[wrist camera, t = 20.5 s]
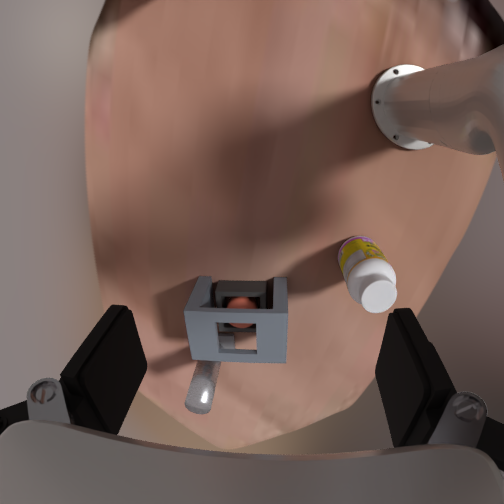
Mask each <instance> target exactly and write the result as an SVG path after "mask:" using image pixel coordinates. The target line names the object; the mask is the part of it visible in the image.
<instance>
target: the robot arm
mask: <svg viewBox="0 0 504 504" xmlns="http://www.w3.org/2000/svg"><path fill="white" fill-rule="evenodd" d="M393 71H395V74H394V73H393ZM375 101H378V104H376V103H375ZM371 107H372V113H373V116H374V119H375V122H376V124H377V126H378V127H379V129H380V130H381V132H382V133H383V134H384V135H385V136H386V137H387V138H388V139H389V140H390V141H392V142H393V143H395V144H396V145H399V146H401V147H403V148H407V149H413V150H419V149H425V148H428V147H431V146H432V145H434V144H436V145H440V146H443V147H447V148H451V149H454V150H458V151H462V152H465V153H469V154H474V155H485V154H489V153H492V152H494V151H496V154H497V157H498V161H499V166H500V168H501V171H502V176H503V181H504V45H501V46H499V47H497V48H495V49H493V50H491V51H489V52H487V53H485V54H483V55H480V56H478V57H475V58H471V59H467V60H464V61H459V62H455V63H451V64H446V65H441V66H437V67H433V68H429V69H423V68H421V67H419V66H415V65H409V64H403V65H397V66H394V67H392V68H390V69H388V70H386V71H385V72H384V73H383V74H381V75H380V77H379V78H378V79H377V81H376V83H375V85H374V87H373V91H372V95H371ZM394 135H395V139H394V138H393V136H394ZM146 371H147V361H146V358H145V354H144V351H143V348H142V345H141V341H140V338H139V335H138V331H137V328H136V324H135V320H134V317H133V313H132V311H131V310H129V309H128V307H127V306H125V305H111V306H110V307H109V308H108V310H107V311H106V312H105V314H104V315H103V316H102V318H101V319H100V320H99V322H98V323H97V324H96V326H95V327H94V328H93V330H92V331H91V332H90V334H89V335H88V336H87V338H86V339H85V340H84V342H83V343H82V345H81V346H80V347H79V349H78V350H77V352H76V353H75V354H74V355H73V357H72V358H71V360H70V361H69V362H68V364H67V365H66V367H65V368H64V370H63V371H62V373H61V374H60V376H61V378H60V380H59V381H57V380H56V379H53V378H44V379H40V380H38V381H36V382H35V383H34V384H32V385H31V387H30V388H29V390H28V392H27V400H26V401H23V402H21V403H18V404H16V405H13V406H10V407H7V408H4V409H2V410H0V504H504V424H502V423H500V422H497V421H495V420H493V419H491V418H489V417H487V407H486V404H485V403H484V401H483V399H481V398H480V397H479V396H478V395H476V394H474V393H471V392H459V393H457V392H456V390H455V388H454V386H453V383H452V381H451V379H450V377H449V375H448V373H447V371H446V369H445V367H444V365H443V363H442V361H441V359H440V357H439V355H438V353H437V351H436V349H435V347H434V346H433V344H432V343H431V342H429V341H428V339H427V337H426V335H425V334H424V332H423V330H422V328H421V326H420V324H419V322H418V321H417V319H416V317H415V315H414V313H413V311H412V310H411V309H410V308H398V309H394V311H393V313H390V314H389V316H388V320H387V324H386V329H385V333H384V337H383V341H382V345H381V349H380V353H379V357H378V361H377V364H376V368H375V376H376V379H377V383H378V387H379V391H380V394H381V398H382V402H383V406H384V409H385V413H386V417H387V421H388V425H389V429H390V434H391V438H392V442H393V446H394V448H389V449H380V450H372V451H360V452H348V453H332V454H308V455H272V454H271V455H270V454H246V453H231V452H219V451H209V450H200V449H192V448H184V447H177V446H171V445H164V444H158V443H153V442H147V441H142V440H137V439H132V438H128V437H123V436H118V435H117V434H118V433H119V430H120V428H121V426H122V424H123V421H124V419H125V417H126V415H127V412H128V410H129V408H130V406H131V403H132V401H133V399H134V397H135V394H136V392H137V390H138V388H139V386H140V384H141V382H142V379H143V377H144V375H145V373H146Z"/></svg>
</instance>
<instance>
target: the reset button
mask: <svg viewBox="0 0 504 504" xmlns="http://www.w3.org/2000/svg"><path fill="white" fill-rule="evenodd" d="M257 307H258V304H257V301H256V299H255V298H254V297H237V296H231V297H230V299H229V301H228V305H227V308H235V309H257ZM230 324H231V325H232V326H234V327H237V328H247V327H249V326H251V325H252V324H254V323H230Z"/></svg>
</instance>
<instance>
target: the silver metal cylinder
mask: <svg viewBox="0 0 504 504" xmlns="http://www.w3.org/2000/svg"><path fill="white" fill-rule="evenodd" d="M219 348H220V349H224V348H223V346H222V344H221V343H219ZM220 365H221V361H207V360H198V361H197V364H196V368H195V371H194V374H193V377H192V381H191V384H190V387H189V390H188V394H187V397H186V400H185V406H186V408H187V409H188V410H189V411H191V412H193V413H196V414H206V413H208V412H209V411H210V410H211V405H212V401H213V396H214V392H215V387H216V383H217V378H218V374H219V369H220Z"/></svg>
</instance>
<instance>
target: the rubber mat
mask: <svg viewBox="0 0 504 504" xmlns="http://www.w3.org/2000/svg"><path fill="white" fill-rule="evenodd" d="M218 340H219V343H221V344H222V346H223V348H224V349H235V340H234V334H228V333H218Z"/></svg>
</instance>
